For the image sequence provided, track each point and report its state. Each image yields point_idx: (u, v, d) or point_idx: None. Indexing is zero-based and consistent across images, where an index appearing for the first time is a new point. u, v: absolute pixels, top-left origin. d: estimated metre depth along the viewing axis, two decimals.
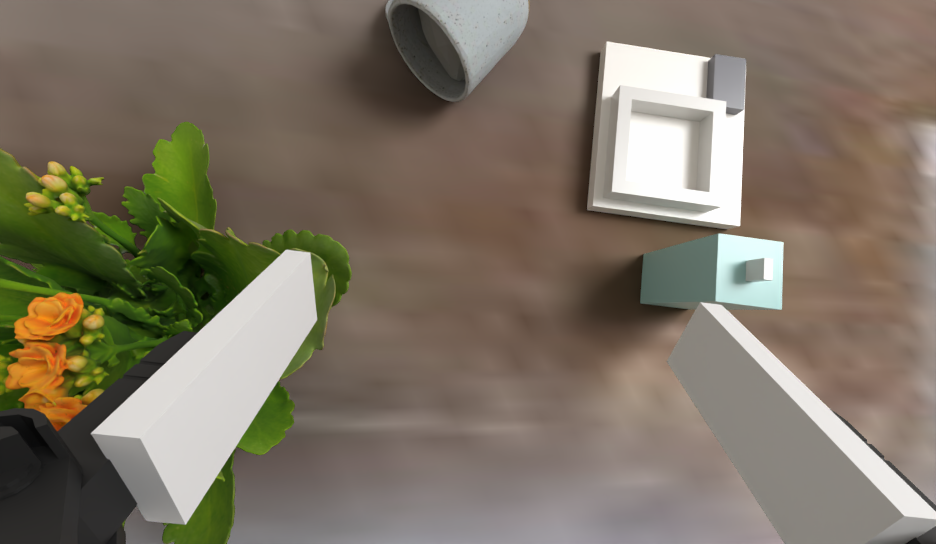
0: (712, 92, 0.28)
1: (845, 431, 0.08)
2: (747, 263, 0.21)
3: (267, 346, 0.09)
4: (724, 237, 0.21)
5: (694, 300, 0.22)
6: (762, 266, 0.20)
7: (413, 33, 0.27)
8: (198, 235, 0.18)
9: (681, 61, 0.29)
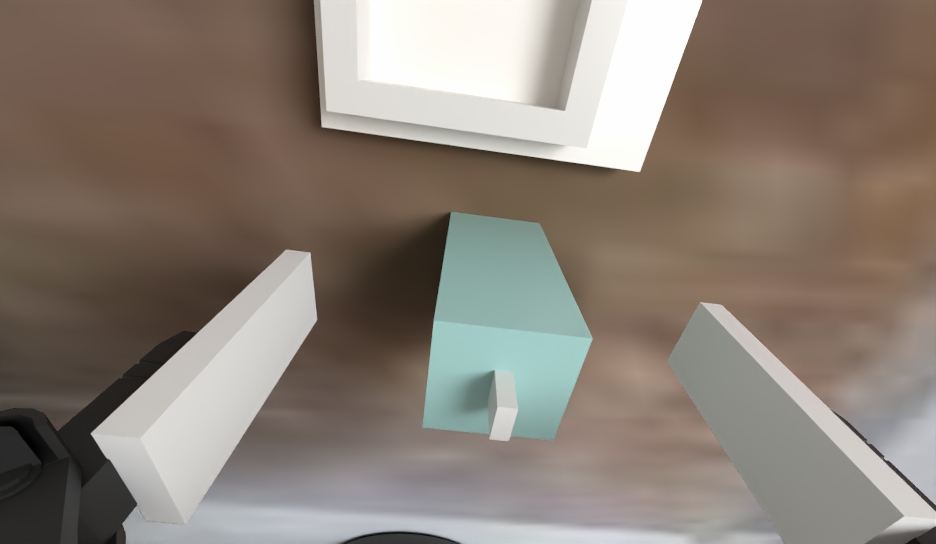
0: None
1: (845, 431, 0.08)
2: (493, 376, 0.09)
3: (267, 346, 0.09)
4: (447, 328, 0.09)
5: None
6: (496, 414, 0.09)
7: None
8: None
9: None
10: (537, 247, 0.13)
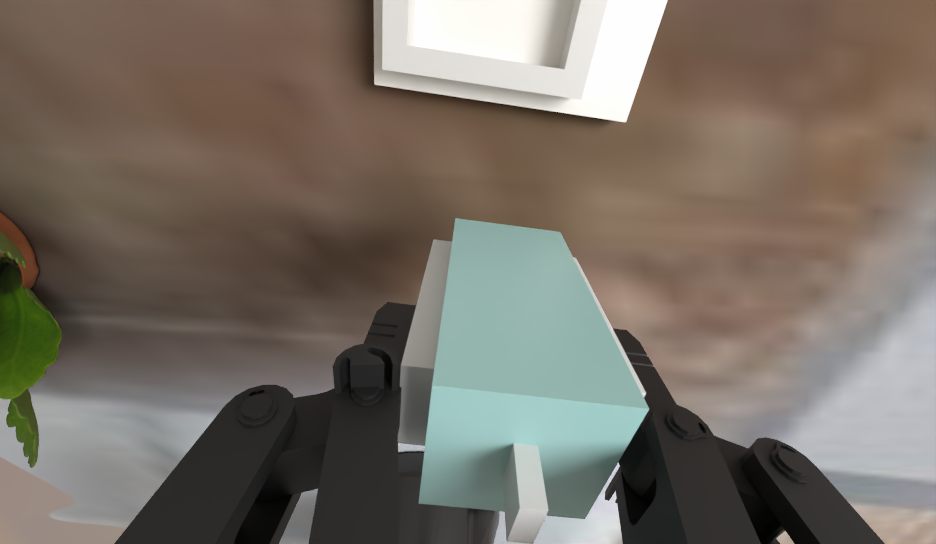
0: None
1: None
2: (512, 452, 0.07)
3: None
4: (451, 395, 0.06)
5: None
6: (516, 511, 0.06)
7: None
8: None
9: None
10: (561, 265, 0.11)
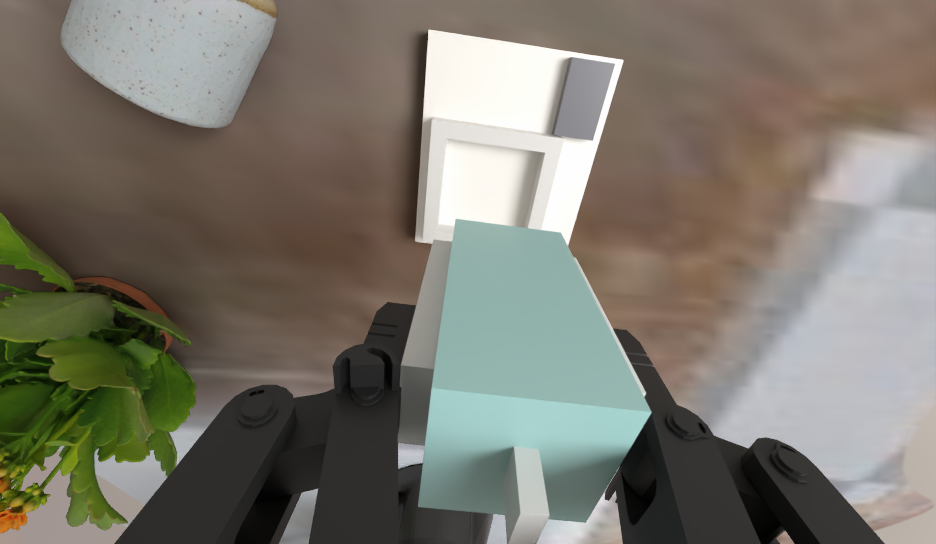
0: (558, 115, 0.23)
1: None
2: (512, 455, 0.07)
3: None
4: (450, 398, 0.06)
5: None
6: (517, 515, 0.06)
7: None
8: None
9: (531, 59, 0.22)
10: (562, 265, 0.11)
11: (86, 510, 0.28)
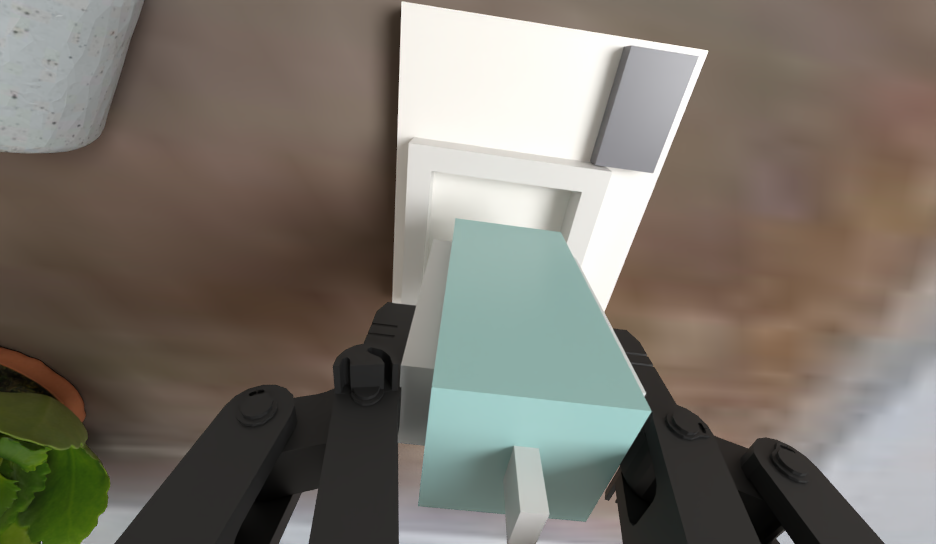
0: (603, 136, 0.15)
1: None
2: (512, 454, 0.07)
3: None
4: (450, 397, 0.06)
5: None
6: (517, 514, 0.06)
7: None
8: None
9: (563, 50, 0.14)
10: (562, 265, 0.11)
11: None
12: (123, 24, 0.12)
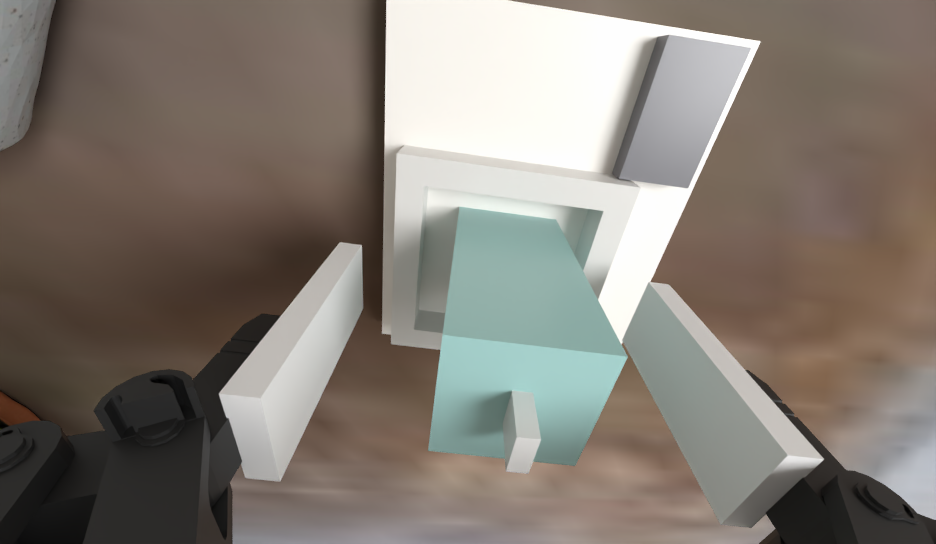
0: (629, 145, 0.12)
1: (755, 389, 0.08)
2: (510, 398, 0.08)
3: (332, 328, 0.10)
4: (458, 344, 0.07)
5: None
6: (514, 443, 0.08)
7: None
8: None
9: (584, 41, 0.11)
10: (556, 246, 0.12)
11: None
12: (29, 0, 0.10)
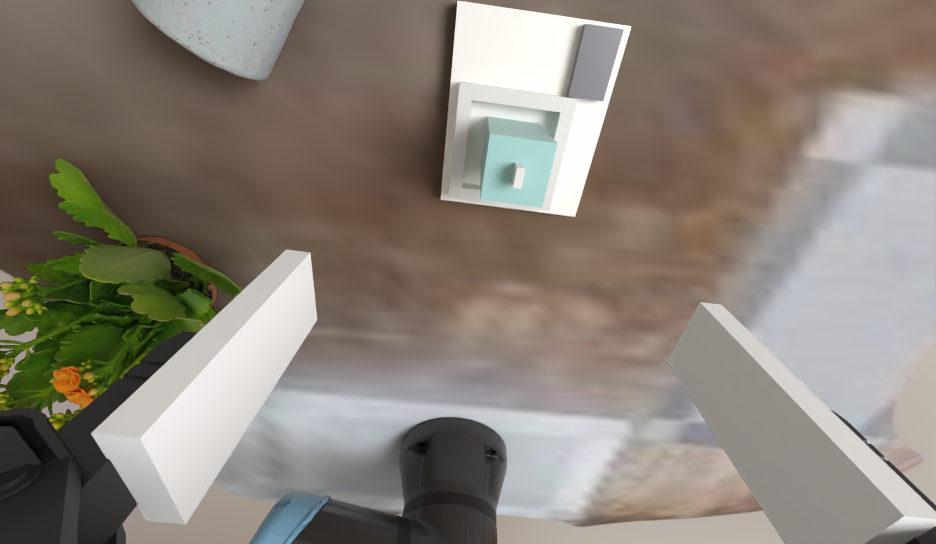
0: (572, 78, 0.25)
1: (845, 431, 0.08)
2: (514, 165, 0.21)
3: (267, 346, 0.09)
4: (495, 138, 0.21)
5: (480, 190, 0.24)
6: (516, 174, 0.21)
7: None
8: None
9: (548, 27, 0.24)
10: (536, 127, 0.25)
11: None
12: (300, 6, 0.23)
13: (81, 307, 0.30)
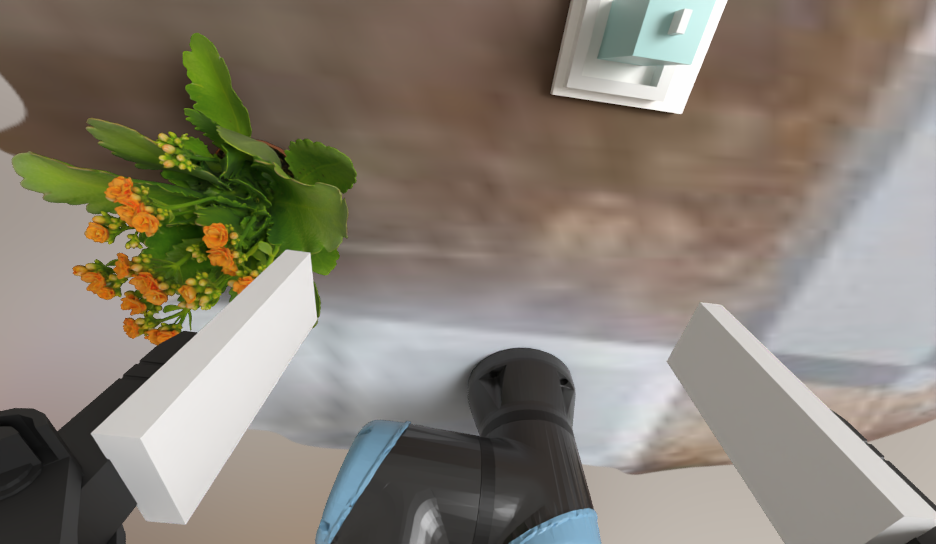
0: None
1: (845, 431, 0.08)
2: (674, 14, 0.22)
3: (267, 346, 0.09)
4: None
5: (623, 55, 0.25)
6: (681, 18, 0.21)
7: None
8: (252, 156, 0.28)
9: None
10: None
11: None
12: None
13: (200, 194, 0.30)
